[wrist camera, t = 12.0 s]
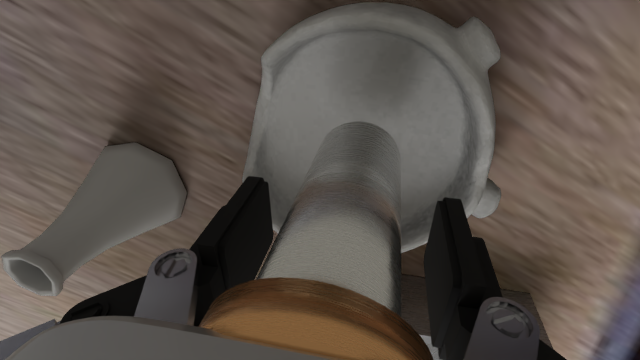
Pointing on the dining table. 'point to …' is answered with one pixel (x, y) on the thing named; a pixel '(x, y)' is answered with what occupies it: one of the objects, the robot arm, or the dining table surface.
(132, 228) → the flask
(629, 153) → the dining table surface
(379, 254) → the pin
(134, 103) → the dining table surface
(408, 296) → the gray square-hole block
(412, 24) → the dish
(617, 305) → the dining table surface
